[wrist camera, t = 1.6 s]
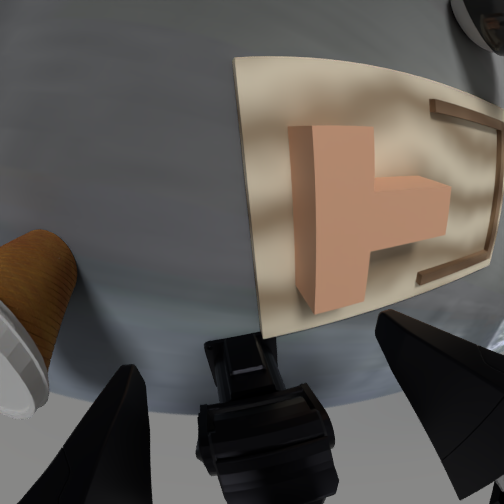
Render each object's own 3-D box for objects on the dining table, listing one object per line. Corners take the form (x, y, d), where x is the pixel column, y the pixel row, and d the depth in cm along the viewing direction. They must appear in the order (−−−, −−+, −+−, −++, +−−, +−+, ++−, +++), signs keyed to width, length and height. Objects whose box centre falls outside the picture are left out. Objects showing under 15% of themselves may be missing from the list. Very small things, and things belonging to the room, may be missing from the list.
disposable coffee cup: (26, 185, 15) (-84, 248, 4) (115, 257, 19) (60, 382, 8) (-4, 271, 16) (-72, 354, 6) (71, 330, 20) (32, 438, 10)
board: (484, 262, 29) (492, 267, 27) (260, 332, 24) (265, 345, 23) (500, 109, 20) (510, 111, 18) (232, 61, 15) (236, 54, 13)
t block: (409, 258, 23) (436, 277, 20) (295, 285, 22) (314, 314, 18) (419, 130, 18) (453, 135, 15) (287, 126, 17) (312, 125, 13)
